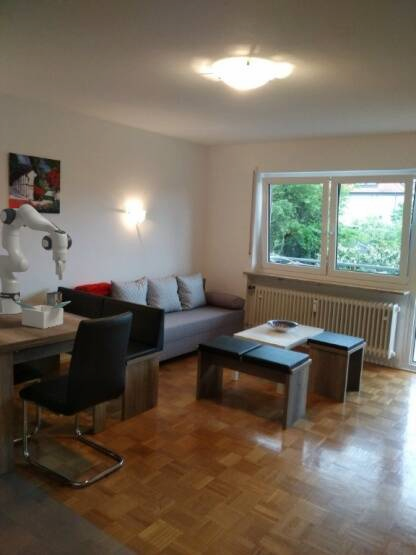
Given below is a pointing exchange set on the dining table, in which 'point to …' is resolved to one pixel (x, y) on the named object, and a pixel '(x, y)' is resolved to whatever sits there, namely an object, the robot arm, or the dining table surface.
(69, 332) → the dining table surface
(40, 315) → the carton
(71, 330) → the dining table surface
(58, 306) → the teal flap short
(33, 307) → the teal flap long
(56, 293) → the coffee box
